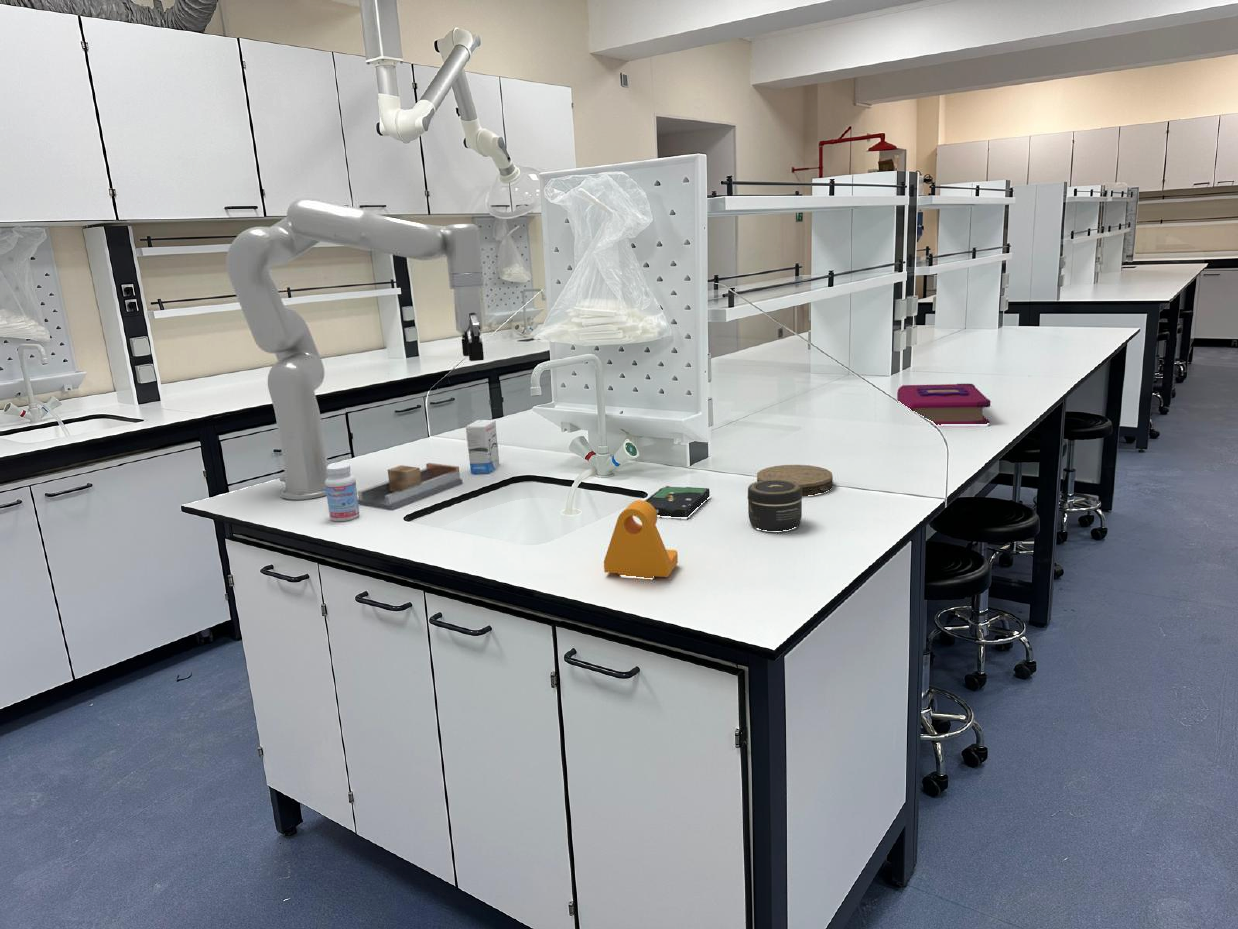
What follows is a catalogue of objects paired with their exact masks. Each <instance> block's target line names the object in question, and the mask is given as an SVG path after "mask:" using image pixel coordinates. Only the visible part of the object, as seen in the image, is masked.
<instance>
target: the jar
mask: <svg viewBox="0 0 1238 929" xmlns="http://www.w3.org/2000/svg"><path fill="white" fill-rule="evenodd" d="M802 500H803V497H802V488H801V486H800V485H799V484H798V483H795V482H792V481H787V480H763V481H758V482H757V481H755V482H752V483H751V484H750V485H749V486H748V487H747V507H748V508H747V509H748V512H747V513H748V520H749V523H750V525H751V527H752V528H753V527H756V528H759V529H761V530H767V531H783V530H789V529H792V528H794V527H797V526H798V525H799V526H800V524H801V522H802V521H801V520H802V516H803V515H802V511H803V509H802V508H803V507H802V504H803V502H802ZM799 526H798V527H799ZM798 527H797V528H798Z"/></svg>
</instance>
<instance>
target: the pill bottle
mask: <svg viewBox="0 0 1238 929" xmlns="http://www.w3.org/2000/svg"><path fill="white" fill-rule="evenodd" d="M327 473H328V475H329V477H328V478H327V479H326V481H325V486H326V494H327V495H326V500H327V507H328V508H327V509H328V514H329V515H328V516H329V518H330V520H332V521H333V522H346V521H345V520H348V521H352V520H355V519H357V518H358V517H359V515H360V508H359V507H360V506H359V504H358V499H359V497H358V491H357V483H356V477H355V476H354V475H353V474H350V473H351V465H350V464H349V463H345V462H342V463H333V464H330V465H328V467H327Z"/></svg>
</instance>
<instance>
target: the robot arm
mask: <svg viewBox="0 0 1238 929" xmlns="http://www.w3.org/2000/svg"><path fill="white" fill-rule="evenodd" d="M480 237H481V236H480V230H479V227H478V226H477V225H476V224H474V223H455V224H449V225H435V224H434V225H432V224H427V223H419V222H414V221H408V220H404V219H399V218H394V217H389V216H385V215H382V214H378V213H376V212H374V211H371V210H368V209H365V208H359V207H355V206H349V205H344V204H340V203H333V202H329V201H324V200H320V199H317V198H316V199H315V198H309V197H301V198H298V199H296V200H294V201H293V202H291V204H289V206H288V209H287V211H286V217H284V218H283V219H281V220H279V221H278V222H276V223H274V224H273V225H271V226H253V227H250V228H248V229H245V230H243V231H241V233H239V234H238V235H237V236H236V237H235V238H234V239H233V241H232V242H231V244H230V246H229V247H228V250H227V254H226V260H225V261H226V262H225V263H226V264H225V266H226V272H227V276H228V279H229V282H230V283H231V286H232V289H233V290H234V294H235V295H236V298H237V300H238V302H239V305H240V309H241V311H242V313H243V316H244V318H245V320H246V323H247V325H248V328H249V330H250V334H251V335H252V338H253V341H254V342H255V343H256V345H257V347H258V348H259V349H261V351H263V352H265V353H268V354H274V355H275V357H276V359H277V362H275V363H274V364H273V365H272V366H271V368H270V370H269V372H268V375H267V388H268V393H269V396H270V399H271V402H272V406H273V409H274V414H275V419H276V426H277V431H278V437H279V445H280V448H281V450H280V451H281V458H282V463H283V469H284V470H283V471H284V473H283V475H280V476H279V481H280V482H283V483H284V484H285V487H284V488H282V489H281V491H280V496H281V498H283V499H286V500H292V501H293V500H295V501H296V500H297V501H298V500H301V501H302V500H310V499H316V498H321V497H324V496H327V494H326V486H325V481H326V479H327V478H328V477H329V475H328V473H327V467H328V466H329V464H328V457H327V451H326V443H325V436H324V430H323V424H322V417H321V412H320V408H319V404H318V400H317V396H316V393H315V391H316V390H317V389H318V388H319V387H320V386H322V384H323V383H324V379H325V367H324V363H323V360H322V359H321V356H320V354H319V351H318V348H317V346H316V343H315V341H314V339H313V336H312V334H311V332H310V329H309V327H308V324H307V323H306V321H305V320H304V318H303V317H302V315H300V313H298V312H296V311H295V310H294V309H291V308H286V307H285V304H284V302H283V300H282V298H281V296H280V292H279V290H278V288H277V285H276V284H275V282H274V280H273V279H272V277H271V275H270V270H269V269H270V267H281V266H283V265H286V264H288V263H290V262H292V261H294V260H295V259H297V258H298V257H300V256H301V255H303V254H304V253H306V252H307V251H309V250H310V249H312V248H314V247H315V246H317V245H318V244H320V243H321V242H323V243H329V244H333V245H338V246H344V247H349V248H353V249H358V250H363V251H369V252H370V251H372V252H378V253H384V254H387V255H391V256H392V255H393V256H397V257H403V258H408V259H413V260H417V261H431V260H436V259H437V260H438V259H441V258H446V263H447V264H446V265H447V273H448V282H449V283H448V284H449V289H450V290H453V301H454V316H455V317H454V318H455V330H456V331H457V332H458V333H460V334H461V348H462V355H463V356H464V357H468V360H469V361H470V362H478V361H484V360H485V358H484V345H483V339H482V335H481V333H482V332H483V315H482V303H481V294H480V293H481V292H480V288H484V286H485V285H484V275H483V274H484V273H483V262H482V250H481V238H480Z"/></svg>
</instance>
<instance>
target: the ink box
mask: <svg viewBox="0 0 1238 929" xmlns="http://www.w3.org/2000/svg"><path fill="white" fill-rule="evenodd" d="M465 432H466V440H467V441H466V442H467V449H468V450H467V451H468V460H469V467H470V468H469V469H470V474H473V475H474V474H490V473H492V472H493V471H494V470H495V469H497V468H498V467H499V466H501V465H500V457H499V446H498V437H497V436H498V435H497V424H496V420H495V419H477V420H475V421H473V422H471V423H469V424H468V425H466V427H465Z"/></svg>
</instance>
